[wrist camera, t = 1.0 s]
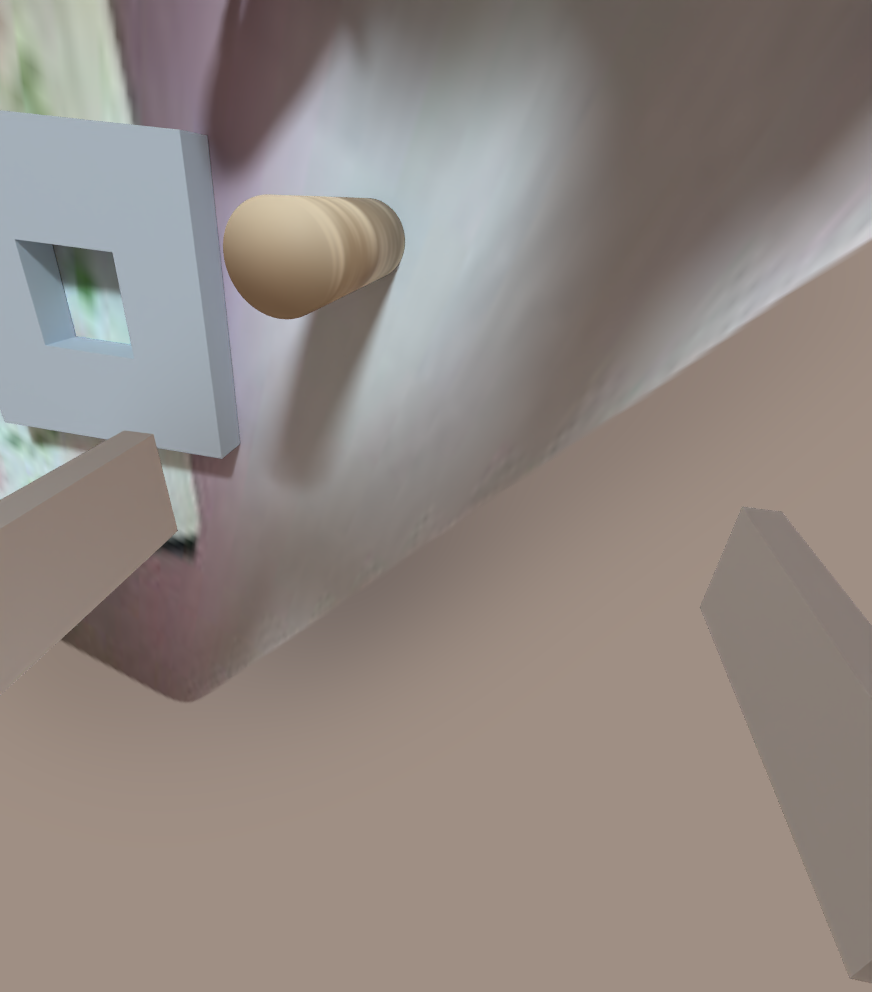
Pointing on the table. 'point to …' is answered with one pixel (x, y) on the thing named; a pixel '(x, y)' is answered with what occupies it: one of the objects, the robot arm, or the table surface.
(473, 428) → the table surface
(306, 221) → the peg
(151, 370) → the socket board
